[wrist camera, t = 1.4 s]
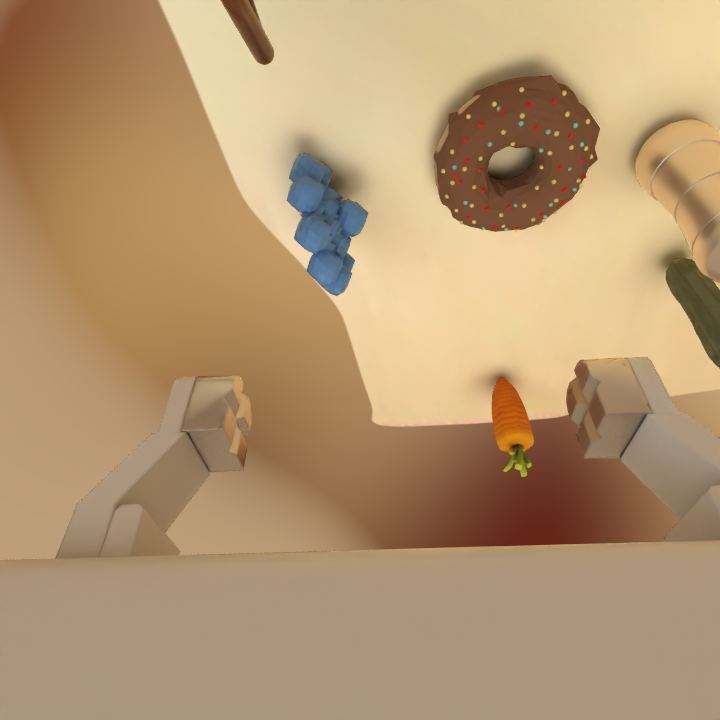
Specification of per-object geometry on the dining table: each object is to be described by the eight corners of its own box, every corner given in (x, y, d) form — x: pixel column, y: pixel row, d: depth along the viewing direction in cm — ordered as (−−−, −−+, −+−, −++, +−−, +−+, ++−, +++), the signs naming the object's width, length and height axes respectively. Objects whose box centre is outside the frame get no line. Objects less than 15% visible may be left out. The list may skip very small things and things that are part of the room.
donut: (539, 224, 53) (550, 254, 50) (413, 196, 51) (416, 226, 48) (622, 82, 43) (643, 108, 39) (468, 40, 40) (477, 64, 37)
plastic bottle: (613, 157, 48) (706, 306, 35) (681, 94, 43) (818, 236, 30) (654, 191, 50) (756, 341, 37) (723, 135, 46) (865, 281, 33)
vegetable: (647, 258, 57) (731, 406, 44) (685, 232, 54) (788, 381, 41) (668, 277, 59) (755, 423, 46) (706, 252, 56) (810, 400, 43)
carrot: (514, 388, 75) (536, 483, 65) (480, 388, 75) (497, 482, 65) (523, 367, 71) (548, 463, 61) (487, 366, 71) (507, 463, 61)
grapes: (383, 227, 54) (387, 306, 46) (323, 242, 55) (316, 322, 47) (349, 120, 45) (346, 195, 37) (279, 142, 47) (262, 218, 39)
